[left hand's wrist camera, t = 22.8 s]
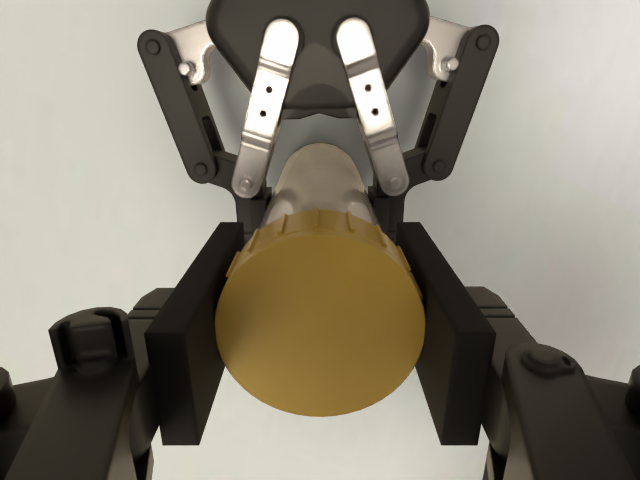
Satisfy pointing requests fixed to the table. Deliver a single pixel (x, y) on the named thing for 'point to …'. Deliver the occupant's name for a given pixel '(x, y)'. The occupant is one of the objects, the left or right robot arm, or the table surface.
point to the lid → (320, 314)
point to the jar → (319, 185)
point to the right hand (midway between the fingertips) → (321, 266)
